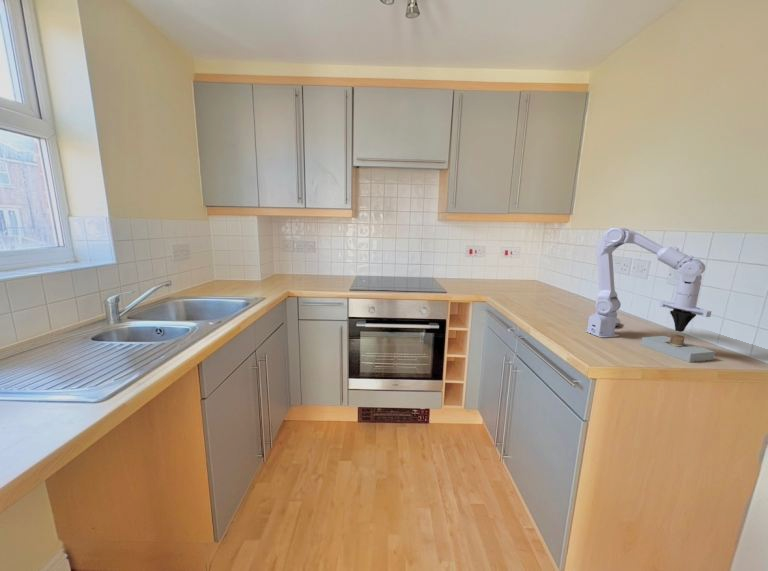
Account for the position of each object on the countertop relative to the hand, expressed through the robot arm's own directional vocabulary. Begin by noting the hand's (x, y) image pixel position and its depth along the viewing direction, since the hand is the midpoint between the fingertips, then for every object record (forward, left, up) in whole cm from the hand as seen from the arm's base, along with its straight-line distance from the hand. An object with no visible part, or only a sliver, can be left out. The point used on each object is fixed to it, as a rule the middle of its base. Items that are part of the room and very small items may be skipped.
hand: (679, 330), depth 113 cm
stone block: (+5, +32, -8) cm, 34 cm away
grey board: (0, 0, -8) cm, 8 cm away
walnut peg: (0, 0, -8) cm, 8 cm away
